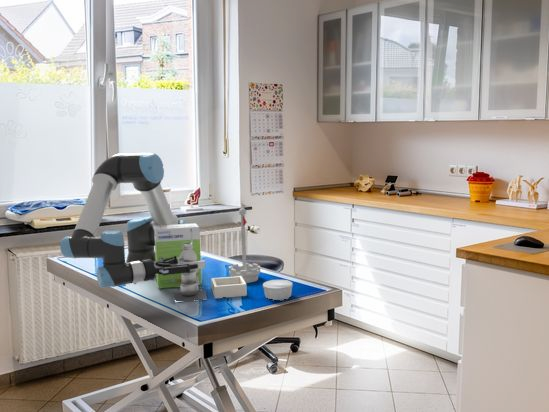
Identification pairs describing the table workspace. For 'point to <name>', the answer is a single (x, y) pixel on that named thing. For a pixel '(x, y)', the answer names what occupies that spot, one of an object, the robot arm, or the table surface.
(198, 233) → the green white carton
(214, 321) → the table surface
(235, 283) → the white square tray
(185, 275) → the plastic bottle
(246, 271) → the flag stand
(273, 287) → the ramekin
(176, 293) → the rubber mat
